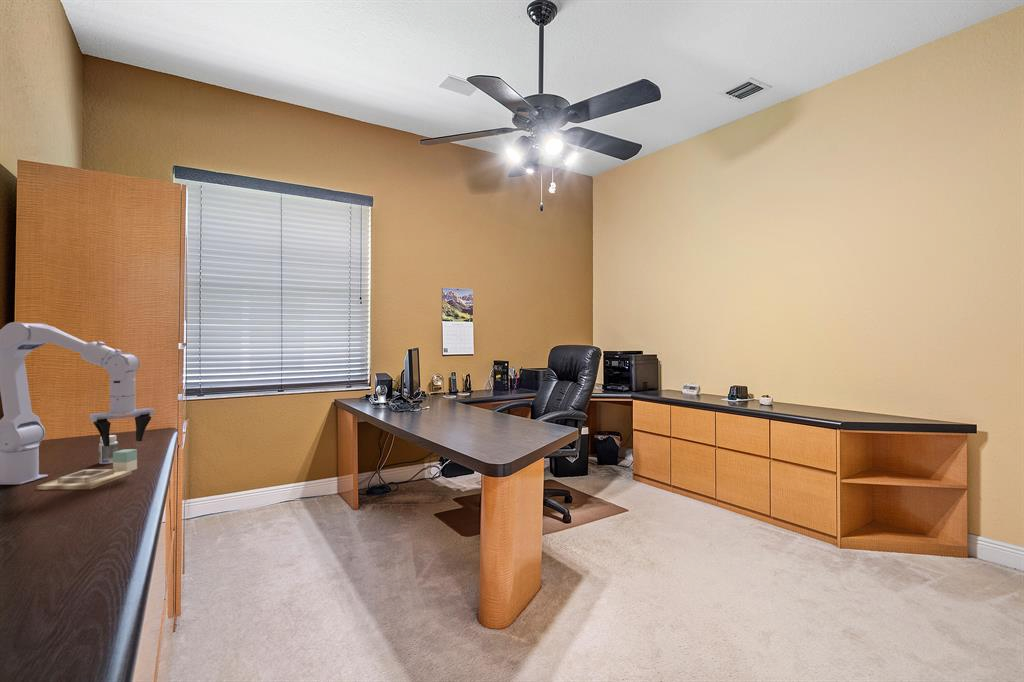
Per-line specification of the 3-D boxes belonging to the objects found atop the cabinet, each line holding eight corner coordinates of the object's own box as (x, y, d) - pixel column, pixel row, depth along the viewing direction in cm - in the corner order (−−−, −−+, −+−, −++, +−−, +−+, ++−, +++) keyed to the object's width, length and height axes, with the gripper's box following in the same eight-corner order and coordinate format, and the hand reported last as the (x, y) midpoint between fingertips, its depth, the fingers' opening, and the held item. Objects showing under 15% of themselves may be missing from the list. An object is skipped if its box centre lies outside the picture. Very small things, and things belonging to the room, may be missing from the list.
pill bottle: (122, 460, 157) (121, 434, 157) (108, 464, 152) (108, 437, 152) (108, 460, 157) (108, 434, 157) (94, 464, 153) (94, 437, 153)
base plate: (36, 489, 127) (36, 481, 127) (83, 474, 141) (83, 466, 141) (91, 489, 127) (90, 480, 127) (131, 474, 141) (131, 466, 141)
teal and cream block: (113, 472, 143) (113, 452, 143) (123, 469, 147) (123, 449, 147) (126, 472, 143) (126, 452, 143) (137, 468, 147) (137, 449, 147)
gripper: (96, 399, 130) (96, 449, 130) (158, 394, 143) (158, 440, 143) (86, 397, 134) (86, 446, 134) (148, 392, 146) (148, 437, 146)
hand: (123, 443), depth 139 cm, fingers open, 7 cm apart
